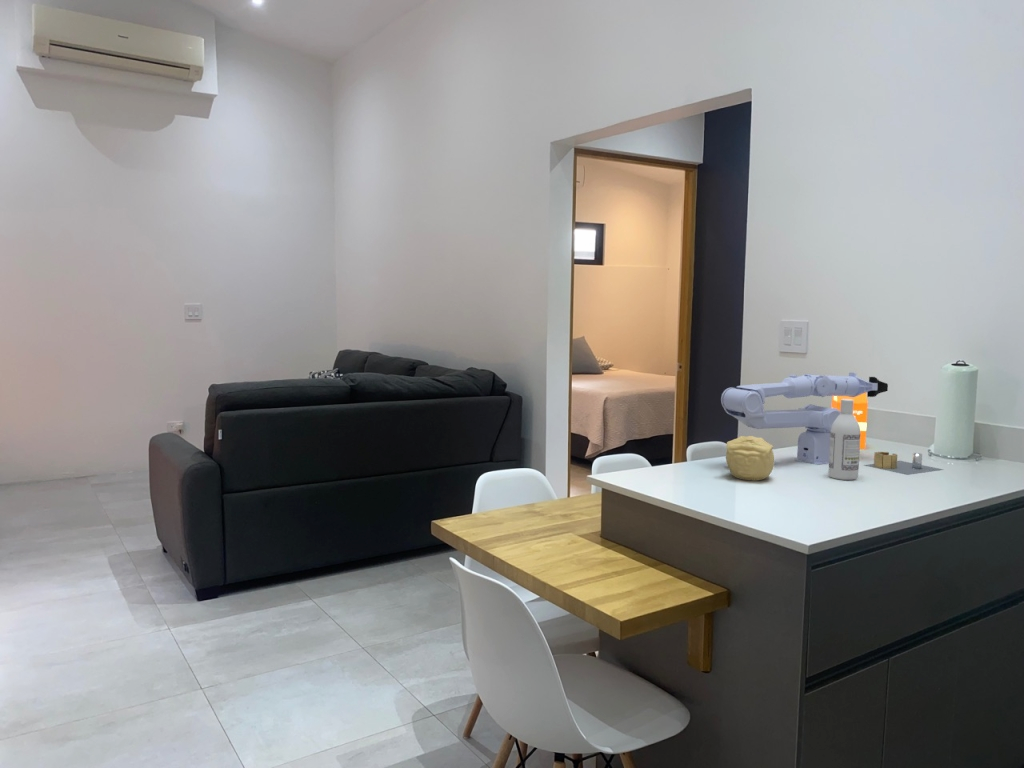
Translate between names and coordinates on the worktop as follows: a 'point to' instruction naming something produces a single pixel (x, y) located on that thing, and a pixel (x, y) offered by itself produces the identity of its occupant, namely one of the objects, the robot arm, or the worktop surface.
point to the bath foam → (844, 444)
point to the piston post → (917, 461)
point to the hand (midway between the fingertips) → (875, 387)
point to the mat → (908, 468)
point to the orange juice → (856, 413)
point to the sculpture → (750, 458)
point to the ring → (885, 460)
